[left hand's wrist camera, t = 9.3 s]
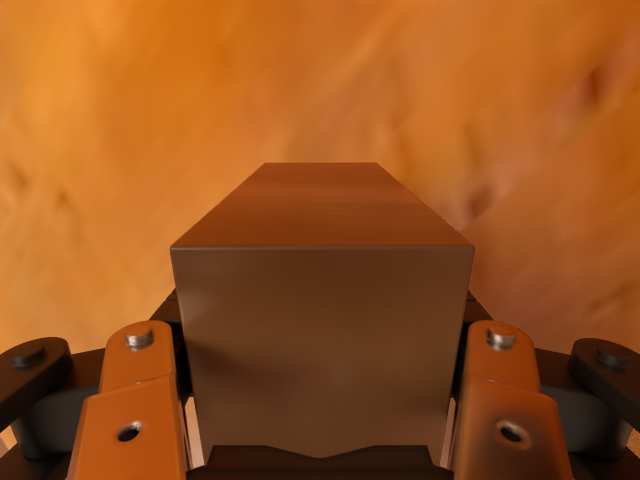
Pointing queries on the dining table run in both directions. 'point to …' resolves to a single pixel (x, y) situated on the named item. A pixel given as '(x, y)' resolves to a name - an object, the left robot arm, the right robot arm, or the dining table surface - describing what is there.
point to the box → (322, 312)
